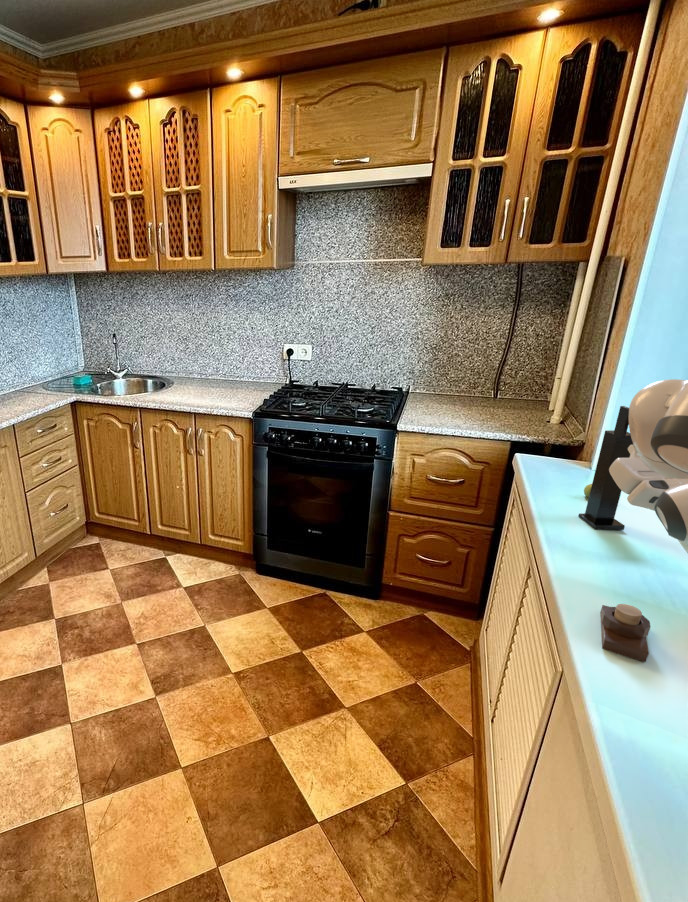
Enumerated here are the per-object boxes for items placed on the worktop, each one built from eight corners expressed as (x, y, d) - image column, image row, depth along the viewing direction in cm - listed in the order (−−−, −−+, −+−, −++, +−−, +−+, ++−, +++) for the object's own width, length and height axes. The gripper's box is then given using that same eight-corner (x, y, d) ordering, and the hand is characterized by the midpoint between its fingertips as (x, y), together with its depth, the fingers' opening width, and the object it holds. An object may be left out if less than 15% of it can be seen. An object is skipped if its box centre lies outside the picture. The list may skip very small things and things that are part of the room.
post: (623, 529, 131) (657, 409, 120) (594, 529, 132) (625, 409, 121) (605, 517, 138) (635, 402, 127) (577, 517, 138) (605, 402, 128)
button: (613, 611, 95) (615, 601, 95) (638, 617, 93) (641, 607, 93) (614, 621, 93) (616, 611, 92) (640, 628, 91) (643, 618, 90)
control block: (598, 613, 101) (603, 595, 99) (641, 624, 97) (646, 606, 96) (600, 649, 91) (605, 630, 90) (647, 662, 88) (653, 643, 86)
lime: (578, 496, 150) (584, 480, 148) (594, 495, 151) (599, 480, 149) (590, 503, 146) (596, 487, 144) (606, 502, 147) (612, 486, 145)
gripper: (743, 486, 107) (705, 436, 116) (638, 486, 108) (608, 437, 117) (722, 504, 112) (687, 455, 121) (621, 504, 113) (594, 455, 122)
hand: (647, 446), depth 119 cm, fingers open, 5 cm apart
